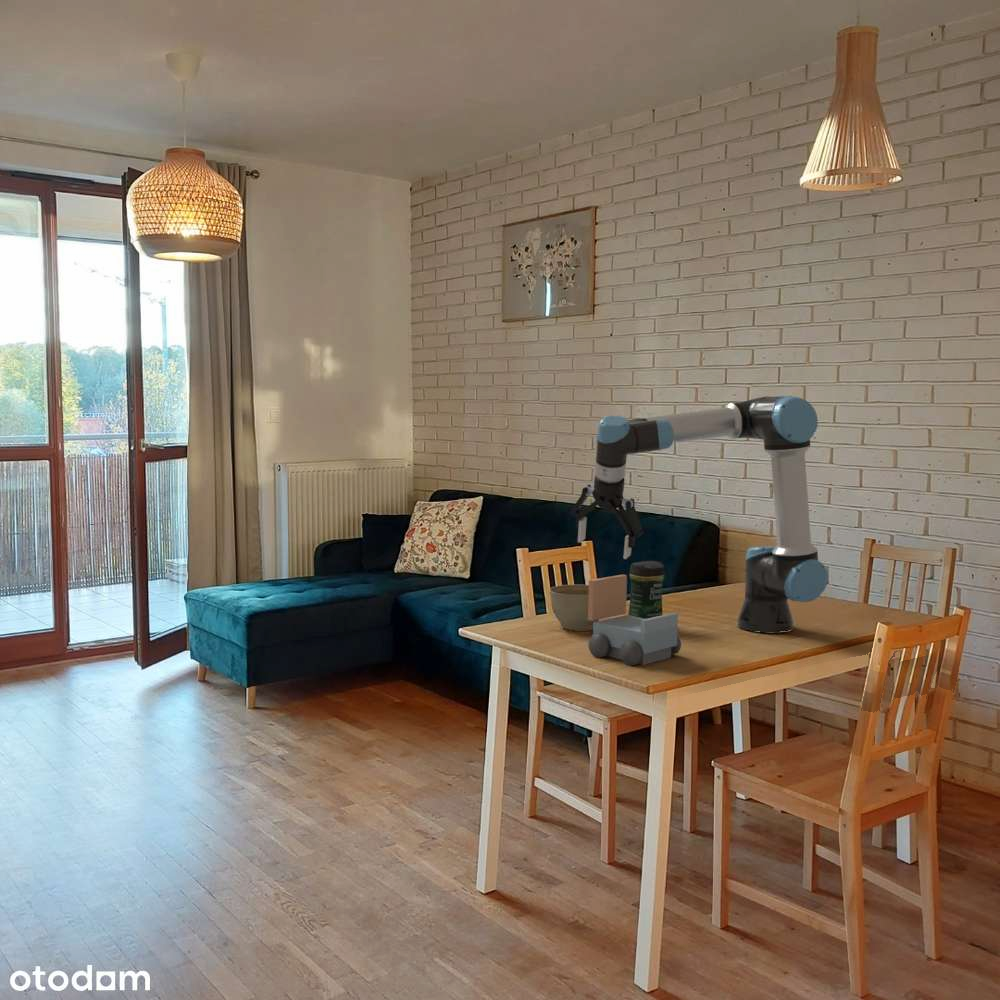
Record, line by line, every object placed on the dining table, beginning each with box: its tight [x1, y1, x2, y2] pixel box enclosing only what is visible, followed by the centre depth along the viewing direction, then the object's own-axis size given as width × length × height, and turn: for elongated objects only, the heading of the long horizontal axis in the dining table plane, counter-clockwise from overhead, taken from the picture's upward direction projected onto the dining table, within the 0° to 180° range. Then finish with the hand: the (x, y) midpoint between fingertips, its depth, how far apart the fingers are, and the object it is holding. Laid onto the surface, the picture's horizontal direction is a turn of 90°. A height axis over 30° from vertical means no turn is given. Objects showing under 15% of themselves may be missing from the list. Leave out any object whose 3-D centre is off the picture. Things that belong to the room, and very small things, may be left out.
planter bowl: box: [548, 584, 600, 632], centre depth 280 cm, size 16×16×11 cm
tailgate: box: [588, 574, 628, 621], centre depth 256 cm, size 2×13×10 cm, turn 134°
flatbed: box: [588, 612, 682, 667], centre depth 250 cm, size 16×17×11 cm
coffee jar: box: [627, 560, 665, 619], centre depth 282 cm, size 10×8×19 cm
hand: (603, 548), depth 264 cm, fingers open, 13 cm apart
